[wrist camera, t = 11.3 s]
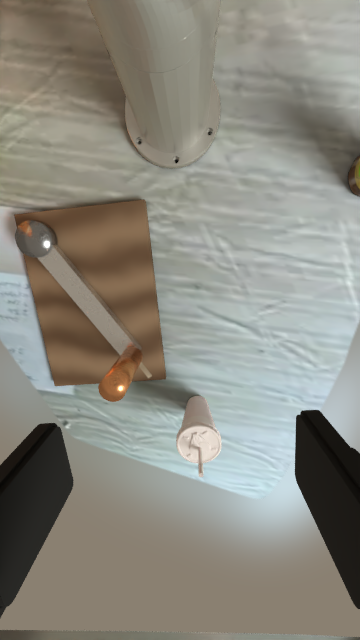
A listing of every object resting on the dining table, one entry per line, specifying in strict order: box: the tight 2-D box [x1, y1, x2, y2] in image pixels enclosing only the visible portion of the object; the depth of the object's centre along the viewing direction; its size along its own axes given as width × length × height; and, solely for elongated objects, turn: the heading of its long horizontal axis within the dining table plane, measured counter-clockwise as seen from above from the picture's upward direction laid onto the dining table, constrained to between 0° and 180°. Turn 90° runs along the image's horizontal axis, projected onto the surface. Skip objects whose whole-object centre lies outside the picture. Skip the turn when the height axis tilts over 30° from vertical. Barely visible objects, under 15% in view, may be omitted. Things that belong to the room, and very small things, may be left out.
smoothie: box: [176, 396, 221, 477], centre depth 36 cm, size 6×6×14 cm
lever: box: [15, 220, 143, 402], centre depth 32 cm, size 26×5×12 cm, turn 37°
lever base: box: [14, 200, 166, 386], centre depth 39 cm, size 28×20×1 cm
